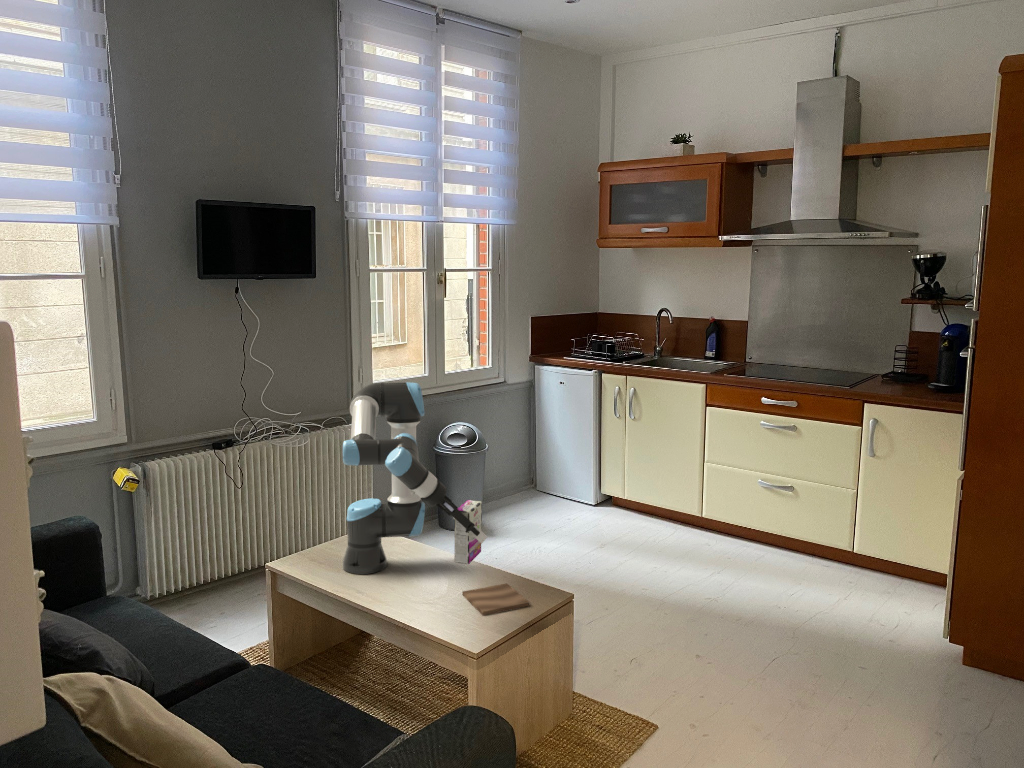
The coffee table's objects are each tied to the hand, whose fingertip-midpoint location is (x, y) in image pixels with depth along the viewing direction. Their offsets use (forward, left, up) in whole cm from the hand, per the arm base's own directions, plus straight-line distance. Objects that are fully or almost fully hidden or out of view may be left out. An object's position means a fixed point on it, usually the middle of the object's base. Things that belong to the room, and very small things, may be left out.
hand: (476, 533), depth 239 cm
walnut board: (-4, +8, -25) cm, 26 cm away
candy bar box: (0, -3, -7) cm, 8 cm away
